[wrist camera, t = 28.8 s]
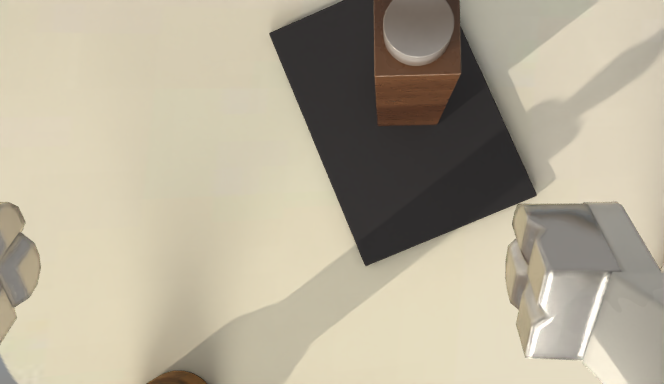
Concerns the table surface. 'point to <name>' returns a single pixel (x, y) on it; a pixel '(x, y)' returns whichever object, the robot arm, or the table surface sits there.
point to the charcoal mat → (397, 138)
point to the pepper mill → (415, 59)
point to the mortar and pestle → (177, 378)
